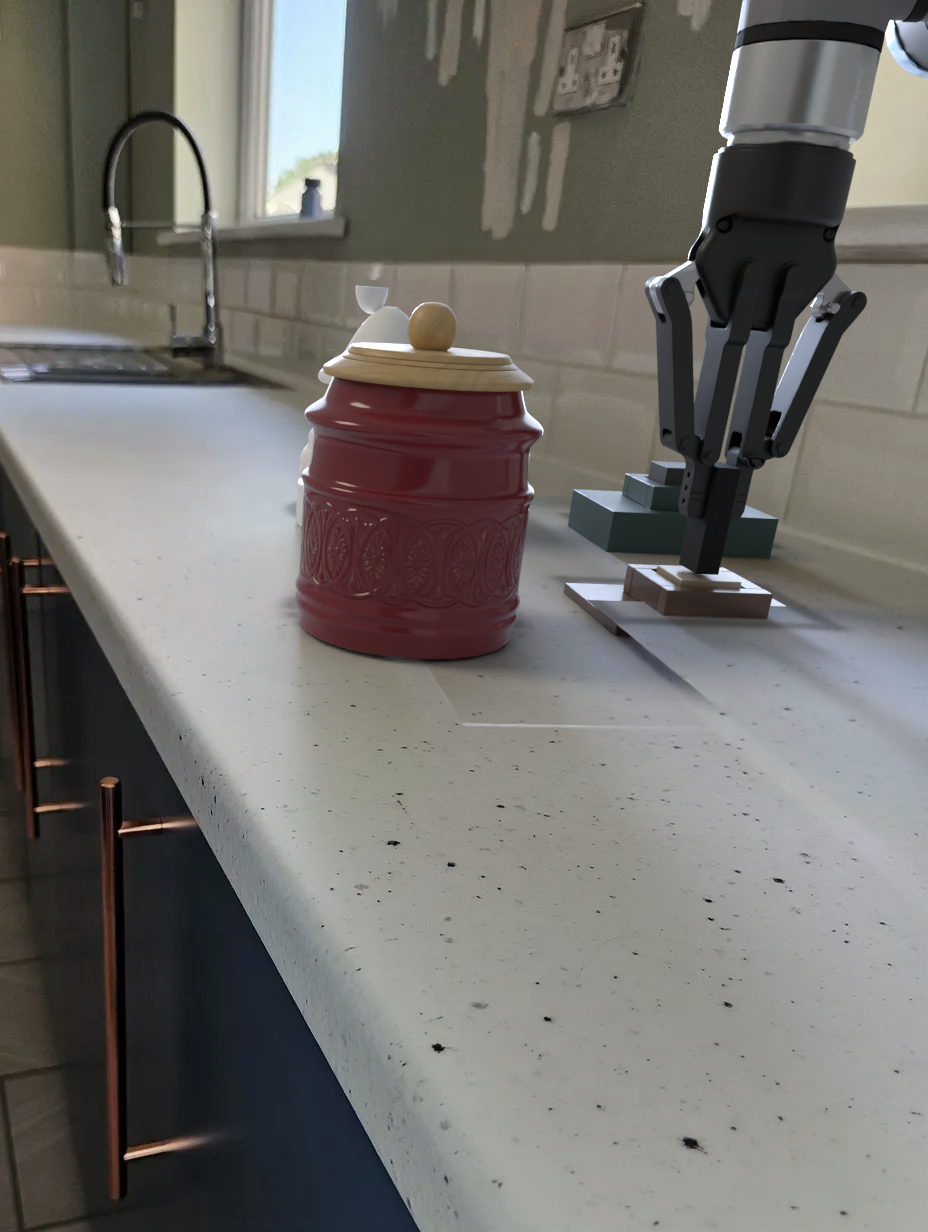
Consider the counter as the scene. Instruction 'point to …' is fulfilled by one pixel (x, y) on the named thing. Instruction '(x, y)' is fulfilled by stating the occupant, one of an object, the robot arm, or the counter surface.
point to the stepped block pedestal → (673, 597)
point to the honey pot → (375, 329)
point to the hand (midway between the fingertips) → (698, 568)
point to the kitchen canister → (416, 497)
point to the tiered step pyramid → (658, 521)
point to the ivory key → (696, 578)
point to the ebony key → (667, 472)
